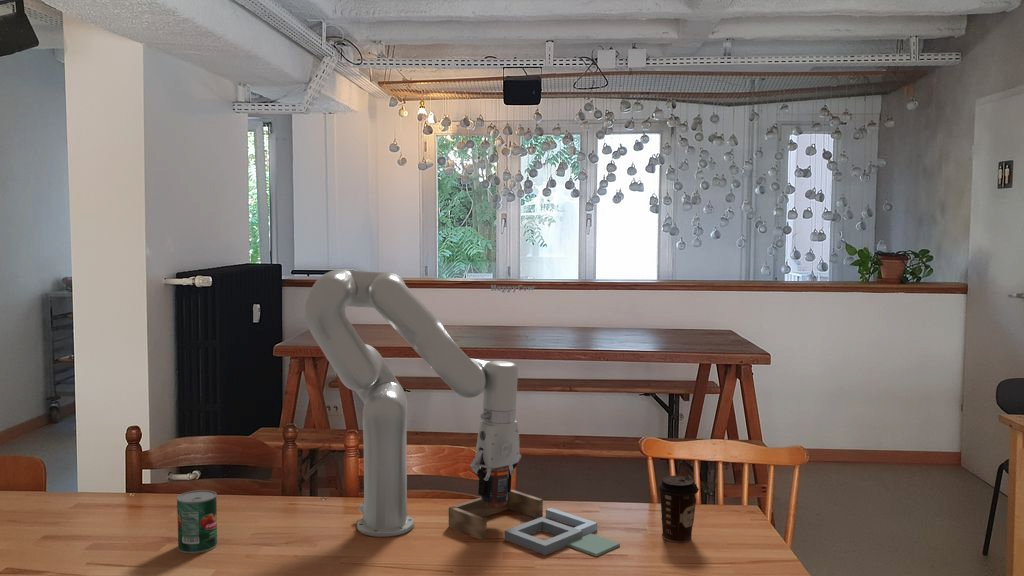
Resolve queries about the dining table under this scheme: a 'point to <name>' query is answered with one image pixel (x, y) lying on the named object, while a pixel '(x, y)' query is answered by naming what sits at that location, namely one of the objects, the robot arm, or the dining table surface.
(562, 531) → the hole board
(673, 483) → the coffee cup
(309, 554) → the dining table surface
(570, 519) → the crook tool
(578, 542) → the pad
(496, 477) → the supplement bottle
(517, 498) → the cubby
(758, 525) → the dining table surface
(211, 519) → the canned tomato
